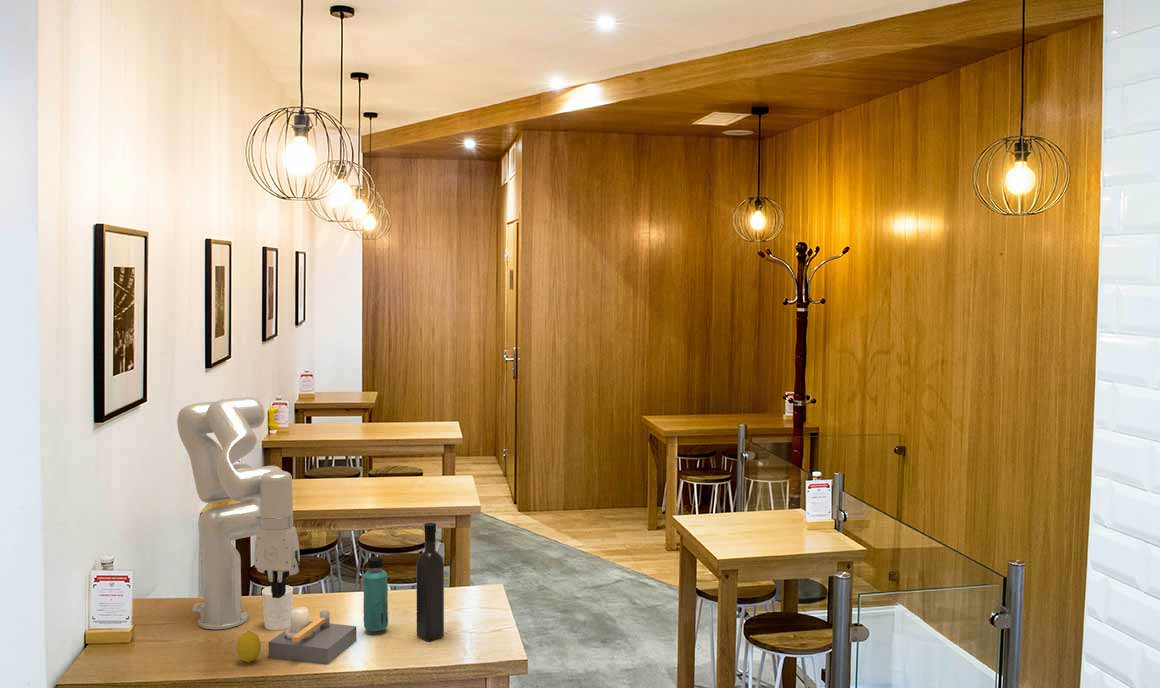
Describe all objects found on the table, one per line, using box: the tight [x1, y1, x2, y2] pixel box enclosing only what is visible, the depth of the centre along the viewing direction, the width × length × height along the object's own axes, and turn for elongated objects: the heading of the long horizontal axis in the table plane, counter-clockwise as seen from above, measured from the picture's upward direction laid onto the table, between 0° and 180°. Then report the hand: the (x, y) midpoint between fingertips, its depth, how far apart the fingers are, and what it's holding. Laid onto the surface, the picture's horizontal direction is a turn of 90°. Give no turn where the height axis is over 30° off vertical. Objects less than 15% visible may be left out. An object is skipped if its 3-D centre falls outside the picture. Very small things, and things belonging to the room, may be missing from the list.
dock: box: [268, 620, 358, 665], centre depth 237 cm, size 16×15×4 cm
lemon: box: [236, 630, 262, 664], centre depth 228 cm, size 6×6×8 cm
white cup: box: [261, 584, 294, 631], centre depth 252 cm, size 8×8×10 cm
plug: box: [284, 606, 314, 640], centre depth 236 cm, size 7×7×10 cm
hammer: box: [292, 610, 331, 642], centre depth 235 cm, size 16×2×4 cm, turn 166°
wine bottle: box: [416, 522, 445, 642], centre depth 245 cm, size 6×6×30 cm
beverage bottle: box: [362, 556, 389, 632], centre depth 248 cm, size 6×7×20 cm
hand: (278, 596), depth 230 cm, fingers closed
